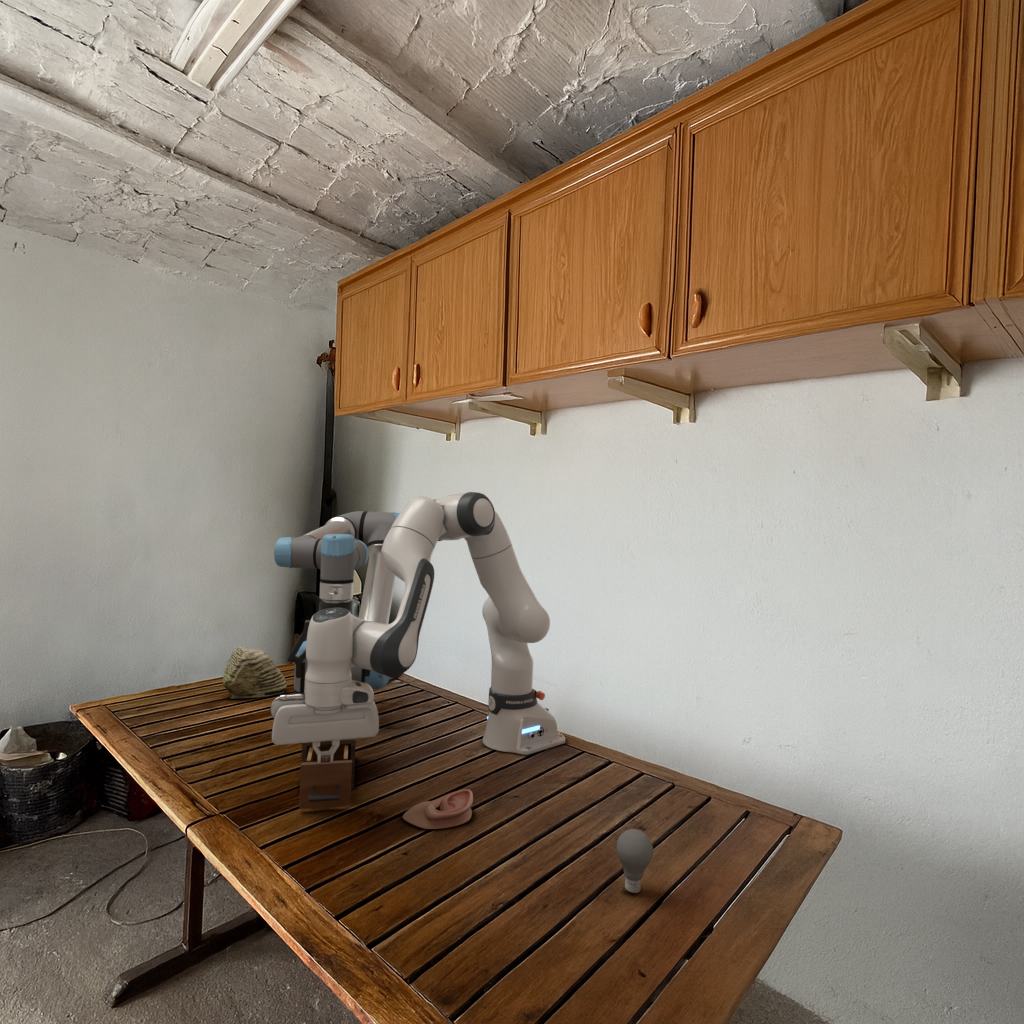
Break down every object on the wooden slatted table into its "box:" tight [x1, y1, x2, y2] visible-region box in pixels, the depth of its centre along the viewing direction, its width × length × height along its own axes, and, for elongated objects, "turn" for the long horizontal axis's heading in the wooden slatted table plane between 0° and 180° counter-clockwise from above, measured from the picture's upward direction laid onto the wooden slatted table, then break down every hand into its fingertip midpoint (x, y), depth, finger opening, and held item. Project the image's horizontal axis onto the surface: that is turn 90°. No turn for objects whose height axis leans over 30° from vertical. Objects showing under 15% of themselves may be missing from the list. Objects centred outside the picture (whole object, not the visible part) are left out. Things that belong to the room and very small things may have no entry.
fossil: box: [222, 646, 288, 699], centre depth 198 cm, size 9×18×15 cm, turn 132°
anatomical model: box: [402, 788, 474, 830], centre depth 128 cm, size 13×4×12 cm
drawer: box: [298, 744, 352, 810], centre depth 132 cm, size 20×10×9 cm, turn 13°
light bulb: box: [615, 828, 654, 894], centre depth 106 cm, size 6×6×10 cm
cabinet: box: [300, 738, 357, 790], centre depth 145 cm, size 16×11×11 cm
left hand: (332, 690), depth 148 cm, fingers open, 13 cm apart
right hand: (325, 761), depth 125 cm, fingers closed
